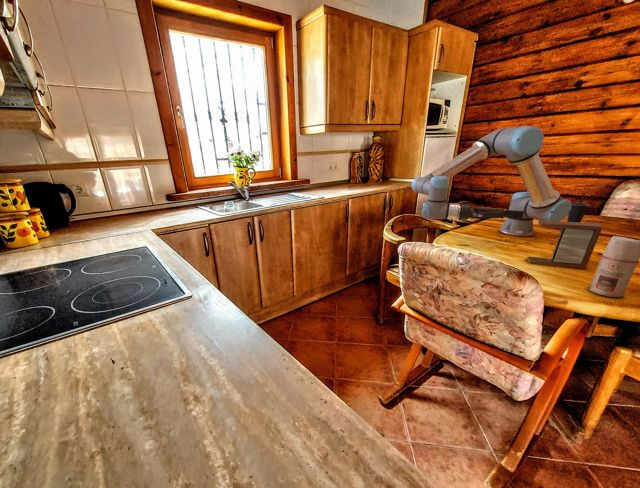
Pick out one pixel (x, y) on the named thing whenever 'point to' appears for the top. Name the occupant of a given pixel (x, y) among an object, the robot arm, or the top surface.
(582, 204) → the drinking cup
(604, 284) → the spray can
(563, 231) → the door
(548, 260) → the showcase frame
